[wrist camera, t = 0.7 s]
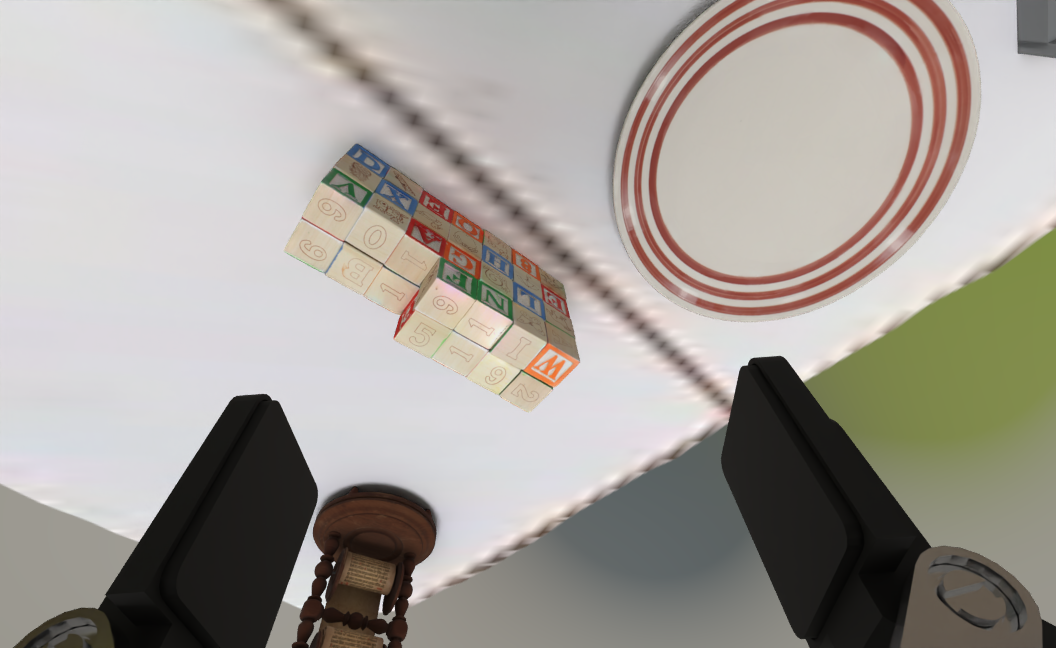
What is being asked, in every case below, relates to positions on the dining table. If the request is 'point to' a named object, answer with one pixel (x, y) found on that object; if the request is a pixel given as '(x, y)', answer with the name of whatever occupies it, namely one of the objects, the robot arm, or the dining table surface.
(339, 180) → the stack of blocks
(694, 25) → the dinner plate
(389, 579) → the wooden spool stand
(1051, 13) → the cage
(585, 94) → the dining table surface
